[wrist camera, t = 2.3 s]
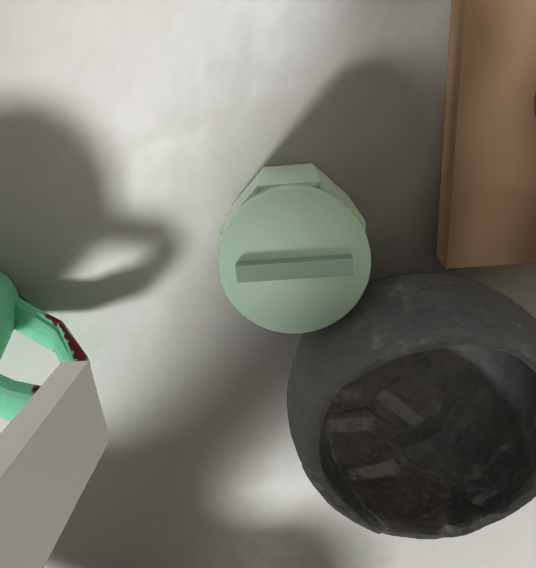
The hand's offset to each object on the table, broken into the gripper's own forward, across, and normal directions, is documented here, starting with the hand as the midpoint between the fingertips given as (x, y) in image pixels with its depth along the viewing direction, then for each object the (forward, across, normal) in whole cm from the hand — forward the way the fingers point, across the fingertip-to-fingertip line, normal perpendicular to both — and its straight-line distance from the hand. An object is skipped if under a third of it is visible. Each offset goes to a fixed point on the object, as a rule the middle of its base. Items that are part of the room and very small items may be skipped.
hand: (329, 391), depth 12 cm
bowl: (+17, +6, -9) cm, 20 cm away
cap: (+17, -1, 0) cm, 17 cm away
